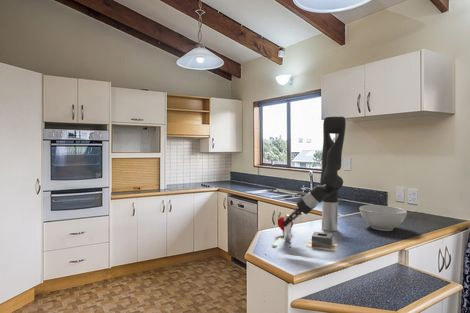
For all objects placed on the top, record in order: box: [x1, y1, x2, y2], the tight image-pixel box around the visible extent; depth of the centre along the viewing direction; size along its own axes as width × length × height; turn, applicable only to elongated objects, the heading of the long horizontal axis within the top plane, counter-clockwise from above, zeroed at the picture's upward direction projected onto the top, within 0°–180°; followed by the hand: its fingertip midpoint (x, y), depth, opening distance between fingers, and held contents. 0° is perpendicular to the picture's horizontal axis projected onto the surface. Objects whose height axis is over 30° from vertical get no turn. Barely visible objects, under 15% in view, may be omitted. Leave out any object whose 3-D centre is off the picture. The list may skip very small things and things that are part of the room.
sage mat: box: [272, 237, 284, 248], centre depth 159 cm, size 14×12×1 cm
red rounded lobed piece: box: [277, 216, 294, 236], centre depth 176 cm, size 9×7×10 cm
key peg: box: [283, 214, 292, 242], centre depth 159 cm, size 4×4×13 cm
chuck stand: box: [305, 231, 338, 252], centre depth 155 cm, size 14×14×6 cm
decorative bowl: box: [359, 204, 408, 232], centre depth 194 cm, size 27×27×12 cm
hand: (283, 224), depth 160 cm, fingers closed on key peg, 3 cm apart
